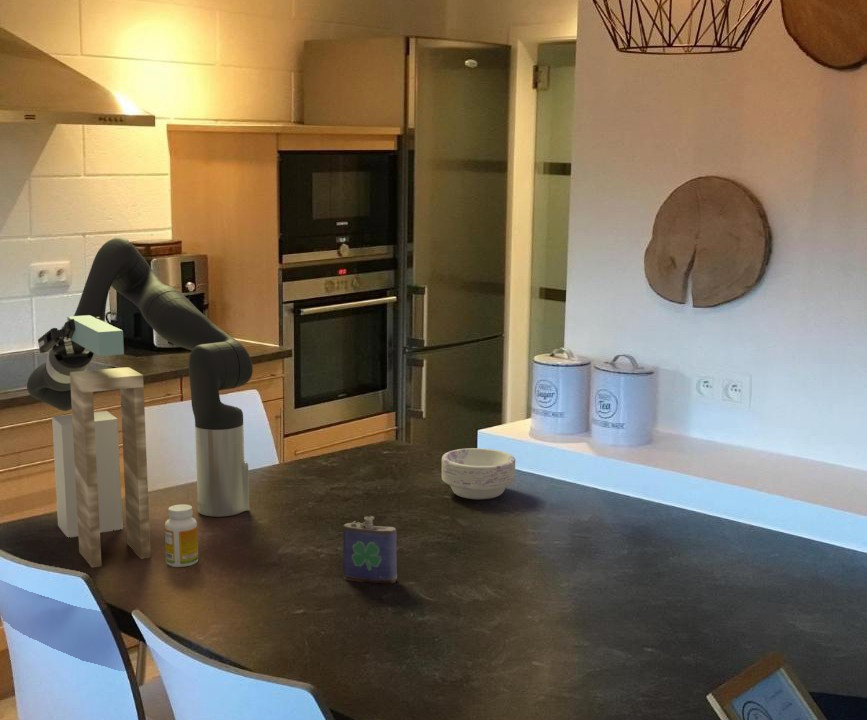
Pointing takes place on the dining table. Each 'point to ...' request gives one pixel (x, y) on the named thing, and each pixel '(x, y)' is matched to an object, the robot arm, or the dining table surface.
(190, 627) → the dining table surface
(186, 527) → the supplement bottle
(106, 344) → the pale green long bar
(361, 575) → the flask
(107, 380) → the bridge
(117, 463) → the light grey tall block
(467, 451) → the paper bowls
